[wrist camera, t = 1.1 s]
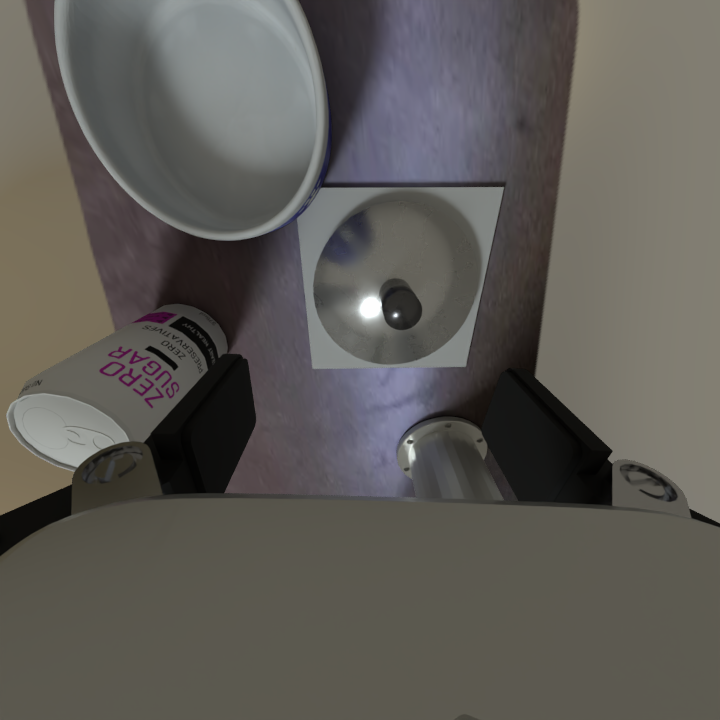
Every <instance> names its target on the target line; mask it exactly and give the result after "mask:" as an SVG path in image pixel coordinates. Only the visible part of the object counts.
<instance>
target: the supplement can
mask: <svg viewBox="0 0 720 720" xmlns="http://www.w3.org/2000/svg"><path fill="white" fill-rule="evenodd" d="M227 350H228V346H227V341H226V336H225V334H224V333H223V331H222V329H221V328H220V326H219V324H218V323H217V322H216V321H214V320H213V319H212V318H211V317H210V316H209V315H208V314H207V313H205V312H203V311H201V310H199V309H197V308H195V307H193V306H188V305H183V304H171V305H164V306H162V307H160V308H159V309H157V310H155V311H153V312H151V313H149V314H148V315H146V316H144V317H142V318H140V319H138V320H137V321H135V322H133V323H131V324H129V325H127V326H126V327H124V328H122V329H120V330H118V331H116V332H115V333H113V334H111V335H109V336H107V337H105V338H104V339H102V340H100V341H98V342H96V343H94V344H93V345H91V346H89V347H87V348H86V349H83V350H82V351H80V352H78V353H76V354H74V355H72V356H71V357H69V358H67V359H65V360H63V361H62V362H60V363H58V364H56V365H54V366H53V367H50V368H49V369H47V370H45V371H43V372H41V373H40V374H38V375H36V376H35V377H33V378H31V379H30V380H28V381H26V383H25V385H24V387H23V389H22V391H21V393H20V394H19V396H18V399H17V400H16V401H14V402H13V403H11V405H10V407H9V409H8V412H7V414H6V417H7V421H8V425H9V429H10V431H11V432H12V433H13V434H14V436H15V437H16V438H17V439H18V441H19V442H20V444H22V445H23V446H24V447H26V448H27V449H28V450H29V451H31V452H32V453H33V454H35V455H36V456H37V457H39V458H41V459H43V460H45V461H47V462H49V463H51V464H53V465H55V466H58V467H61V468H64V469H68V470H70V471H74V472H75V471H76V469H77V468H78V467H79V465H80V464H81V463H82V462H84V461H85V460H86V459H87V458H88V457H90V456H91V455H93V454H95V453H96V452H98V451H100V450H102V449H104V448H107V447H109V446H111V445H115V444H118V443H122V442H130V441H136V442H142V443H144V441H145V440H146V439H147V438H148V437H149V436H150V435H151V434H150V433H151V432H152V431H153V430H154V429H155V428H156V427H157V426H158V424H159V423H160V422H161V421H162V420H163V419H164V418H165V417H166V416H167V415H168V413H169V412H170V411H171V410H172V409H173V408H174V407H175V406H176V405H177V404H178V402H179V401H180V400H181V399H182V398H183V397H184V396H185V395H186V394H187V393H188V391H189V390H190V389H191V388H192V387H193V386H194V385H195V384H196V383H197V382H198V380H199V379H200V378H201V377H202V376H203V375H204V374H205V373H206V372H207V371H208V370H209V368H210V367H211V366H212V365H213V364H214V363H215V362H216V361H217V360H218V359H219V357H220V356H221V355H222V354H227Z"/></svg>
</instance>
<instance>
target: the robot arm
mask: <svg viewBox="0 0 720 720" xmlns="http://www.w3.org/2000/svg"><path fill="white" fill-rule="evenodd" d="M255 423H256V414H255V407H254V400H253V394H252V387H251V380H250V373H249V366H248V361H247V359H243V357H242V355H240V354H222V355H221V356H220V357H219V359H218V360H217V361H216V362H215V363H214V364H213V365H212V366H211V367H210V368H209V370H208V371H207V372H206V373H205V374H204V375H203V376H202V377H201V378H200V379H199V380H198V382H197V383H196V384H195V385H194V386H193V387H192V388H191V389H190V390H189V391H188V393H187V394H186V395H185V396H184V397H183V398H182V399H181V400H180V401H179V402H178V404H177V405H176V406H175V407H174V408H173V409H172V410H171V411H170V412H169V413H168V415H167V416H166V417H165V418H164V419H163V420H162V421H161V422H160V423H159V424H158V426H157V427H156V428H155V429H154V430H153V431H152V432H151V433H150V434H151V435H150V436H149V437H148V438H147V439H146V440H145V441H144V443H142V442H136V441H130V442H122V443H118V444H115V445H111V446H109V447H107V448H104V449H102V450H100V451H98V452H96V453H95V454H93V455H91V456H90V457H88V458H87V459H86V460H85V461H84V462H82V463H81V464H80V465H79V467H78V468H77V469H76V471H75V472H74V475H73V478H72V485H70V486H67V487H65V488H63V489H60V490H58V491H56V492H54V493H51V494H49V495H47V496H44V497H42V498H40V499H37V500H35V501H33V502H30V503H28V504H26V505H24V506H21V507H19V508H17V509H14V510H12V511H10V512H7V513H5V514H3V515H0V720H720V523H718V522H716V521H714V520H712V519H709V518H707V517H705V516H703V515H701V514H699V513H697V512H695V511H693V510H691V509H689V507H688V504H687V500H686V498H685V495H684V493H683V492H682V490H681V489H680V488H679V487H678V486H677V485H676V484H675V483H674V482H672V481H671V480H670V479H669V478H667V477H666V476H664V475H663V474H661V473H660V472H658V471H656V470H655V469H653V468H650V467H648V466H646V465H644V464H641V463H638V462H635V461H630V460H617V461H615V462H614V463H613V464H612V463H611V462H610V461H609V460H608V457H609V456H610V454H611V453H612V450H611V449H610V448H609V447H608V446H607V445H606V444H605V443H604V442H602V440H600V439H599V438H598V437H597V436H596V435H595V434H594V433H593V432H592V431H591V430H590V429H589V428H588V427H587V426H586V425H585V424H583V422H581V421H580V420H579V419H578V418H577V417H576V416H575V415H574V414H573V413H572V412H571V411H570V410H569V409H568V408H567V407H566V406H565V405H563V404H562V403H561V402H560V401H559V400H558V399H557V398H556V397H555V396H554V395H553V394H552V393H551V392H550V391H549V390H548V389H547V388H546V387H545V386H543V385H542V384H541V383H540V382H539V381H538V380H537V379H536V378H535V377H534V376H533V375H532V374H531V373H530V372H529V371H528V370H526V369H515V368H509V369H507V370H506V371H505V372H502V373H501V375H500V378H499V381H498V383H497V386H496V389H495V392H494V394H493V397H492V400H491V403H490V405H489V408H488V411H487V414H486V416H485V419H484V422H483V425H482V430H481V429H480V428H479V427H478V426H477V425H475V424H474V423H472V422H470V421H468V420H466V419H463V418H458V417H437V418H433V419H429V420H426V421H424V422H421V423H419V424H417V425H416V426H414V427H412V428H411V429H410V430H409V431H408V432H406V433H405V434H404V436H403V437H402V438H401V440H400V442H399V444H398V447H397V460H398V465H399V467H400V469H401V470H402V471H403V472H404V474H406V475H407V476H408V477H410V478H412V479H413V484H414V489H415V493H416V498H411V497H377V496H340V495H299V494H242V493H224V492H225V490H226V488H227V486H228V483H229V481H230V479H231V477H232V475H233V473H234V470H235V468H236V466H237V464H238V462H239V460H240V457H241V455H242V453H243V451H244V449H245V447H246V444H247V442H248V440H249V438H250V436H251V434H252V431H253V429H254V427H255ZM487 445H488V447H489V448H490V450H491V452H492V454H493V456H494V457H495V459H496V461H497V463H498V465H499V466H500V468H501V470H502V472H503V474H504V475H505V477H506V479H507V481H508V483H509V484H510V486H511V488H512V490H513V492H514V493H515V495H516V497H517V499H518V501H504V500H503V498H502V496H501V494H500V492H499V490H498V488H497V486H496V484H495V482H494V480H493V478H492V476H491V474H490V472H489V470H488V468H487V466H486V464H485V462H484V458H485V456H486V454H487V448H488V447H487Z"/></svg>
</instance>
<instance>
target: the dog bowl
mask: <svg viewBox="0 0 720 720" xmlns="http://www.w3.org/2000/svg"><path fill="white" fill-rule="evenodd" d="M54 30H55V42H56V49H57V55H58V61H59V66H60V71H61V75H62V79H63V82H64V86H65V89H66V92H67V95H68V98H69V101H70V104H71V106H72V109H73V111H74V114H75V116H76V118H77V120H78V122H79V125H80V127H81V129H82V131H83V133H84V135H85V136H86V138H87V140H88V142H89V144H90V145H91V147H92V148H93V150H94V152H95V153H96V155H97V156H98V158H99V159H100V161H101V162H102V163H103V165H104V166H105V168H106V169H107V170H108V171H109V173H110V174H111V175H112V176H113V178H114V179H115V180H116V181H117V182H118V183H119V184H120V186H121V187H122V188H123V189H124V190H125V191H126V192H127V193H128V194H129V195H130V196H131V197H132V198H133V199H134V200H135V201H137V202H138V203H139V204H140V205H141V206H142V207H144V208H145V209H146V210H148V211H149V212H150V213H152V214H153V215H155V216H156V217H158V218H159V219H161V220H162V221H164V222H165V223H167V224H169V225H171V226H173V227H175V228H177V229H179V230H181V231H184V232H186V233H189V234H191V235H194V236H198V237H202V238H206V239H212V240H224V241H232V240H243V239H248V238H253V237H257V236H260V235H263V234H266V233H269V232H272V231H275V230H277V229H280V228H282V227H284V226H286V225H287V224H289V223H291V222H292V221H294V220H295V219H296V218H297V217H299V216H300V215H301V214H302V213H303V212H304V211H305V210H306V209H307V208H308V207H309V206H310V204H311V203H312V201H313V200H314V198H315V197H316V195H317V193H318V192H319V190H320V188H321V186H322V183H323V181H324V178H325V175H326V172H327V168H328V164H329V159H330V153H331V142H332V123H331V112H330V104H329V97H328V91H327V86H326V81H325V77H324V72H323V68H322V64H321V60H320V57H319V53H318V50H317V46H316V43H315V40H314V37H313V34H312V31H311V28H310V25H309V23H308V20H307V18H306V15H305V13H304V11H303V9H302V7H301V4H300V2H299V0H55V6H54Z"/></svg>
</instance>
